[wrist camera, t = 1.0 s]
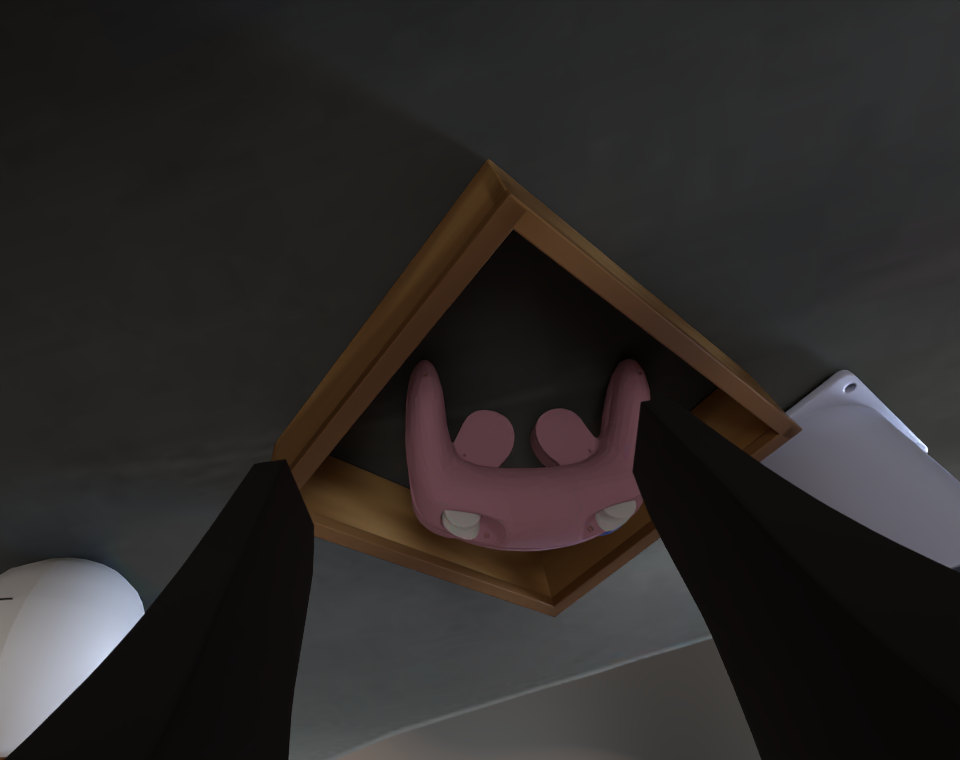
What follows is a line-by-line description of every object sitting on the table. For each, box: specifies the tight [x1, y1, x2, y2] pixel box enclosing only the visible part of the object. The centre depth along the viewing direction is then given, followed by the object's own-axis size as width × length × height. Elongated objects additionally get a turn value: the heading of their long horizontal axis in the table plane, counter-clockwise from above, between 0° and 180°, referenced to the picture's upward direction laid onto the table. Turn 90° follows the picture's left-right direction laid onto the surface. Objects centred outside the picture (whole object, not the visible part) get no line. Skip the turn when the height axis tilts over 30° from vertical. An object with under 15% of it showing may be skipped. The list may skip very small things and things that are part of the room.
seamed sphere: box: [0, 557, 145, 757], centre depth 22 cm, size 10×7×7 cm
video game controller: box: [405, 359, 650, 551], centre depth 21 cm, size 10×5×7 cm, turn 85°
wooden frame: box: [271, 159, 802, 617], centre depth 22 cm, size 15×14×4 cm
